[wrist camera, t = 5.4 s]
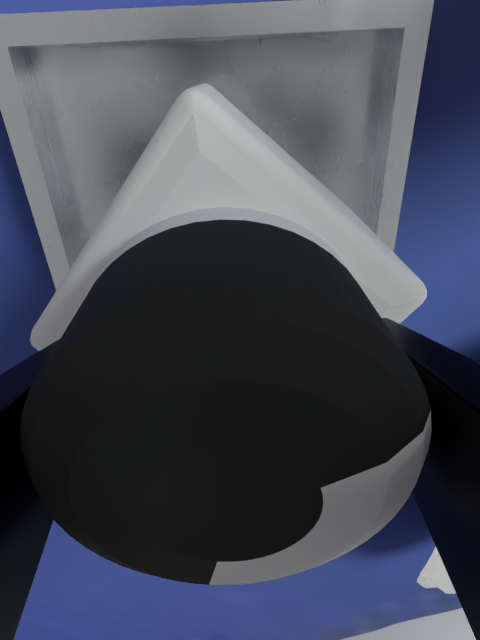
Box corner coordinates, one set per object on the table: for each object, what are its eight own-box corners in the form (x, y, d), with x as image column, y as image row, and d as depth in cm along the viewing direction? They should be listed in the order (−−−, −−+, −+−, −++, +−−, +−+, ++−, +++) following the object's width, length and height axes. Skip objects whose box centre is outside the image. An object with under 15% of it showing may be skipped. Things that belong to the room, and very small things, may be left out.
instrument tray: (411, 3, 14) (435, -6, 12) (364, 341, 21) (375, 362, 20) (-1, 22, 14) (-29, 15, 12) (93, 358, 21) (84, 381, 19)
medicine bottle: (96, 243, 16) (-130, 550, 6) (203, 77, 13) (141, 80, 3) (239, 335, 18) (264, 663, 8) (353, 210, 16) (610, 468, 5)
